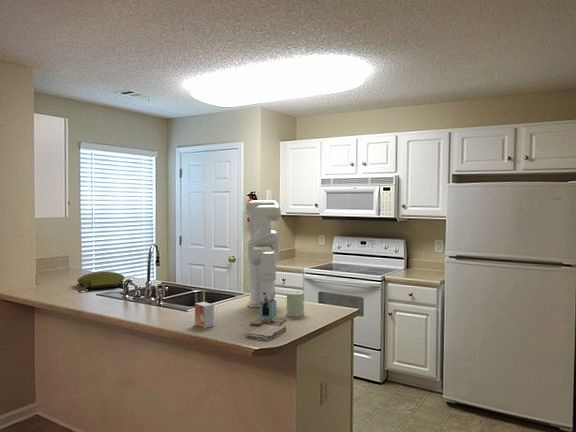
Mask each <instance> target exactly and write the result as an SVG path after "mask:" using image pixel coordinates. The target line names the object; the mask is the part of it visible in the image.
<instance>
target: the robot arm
mask: <svg viewBox="0 0 576 432" xmlns="http://www.w3.org/2000/svg"><path fill="white" fill-rule="evenodd" d="M245 206H246V207H245V209H246V214H247V215H246V216H247V217H248V220H249V223H250V225H249V226H250V238H249V241H248V244H247V259H248V267H249V299H250V301H249V302H247V307H249V308H260V302H261V303H262V315H263V316H269V307H268V305H269V301H271V300H275V298H276V284H275V283H276V282H275V281H276V279H277V276H276V275H277V274H276V273H277V271H276V269H277V268H276V267H277V266H278V265H279V262H280V239H279V233H278V232H277V231H276V230H272V224H271V222H279V221H280V220H281V218H282V211H281V207H280V205H279V203H278V202H277V201H276V200H274V199H273V200H269V199H268V200H265V199H264V200H262V199H261V200H258V199H257V200H256V199H255V200H249V201H248V202H247V203H246V205H245ZM254 248H270V249H254ZM265 300H267V301H265ZM265 302H267V304H266V303H265Z"/></svg>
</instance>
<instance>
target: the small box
mask: <svg viewBox="0 0 576 432" xmlns="http://www.w3.org/2000/svg"><path fill="white" fill-rule="evenodd" d="M214 305H215V304H213V303H209V302H207V301H201V302H196V303H194V325H195V326H197V327H201V328H203V329H206V328H211V327H214V325H215V324H214V323H215V321H214V319H215V314H214V313H215V312H214V311H215V306H214Z"/></svg>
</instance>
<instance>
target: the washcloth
mask: <svg viewBox="0 0 576 432" xmlns="http://www.w3.org/2000/svg"><path fill="white" fill-rule="evenodd" d="M286 331H287V327H286V326H282V325H280V326H273V325H266V324H264V325H262V326H256V328H254V329H252V330H250V331H247V332H246V333H245V335H246V337H245V338H247V339H251V340H256V339H259V341H262V340H265V342H267V341H270V340H272V339H271V338H273V339H274V337H275V336H276V337H278V336H280V335H281V334H283V333H285V332H286ZM280 333H281V334H280ZM279 334H280V335H279ZM277 335H278V336H277ZM276 337H275V338H276ZM269 339H270V340H269Z"/></svg>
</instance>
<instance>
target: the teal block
mask: <svg viewBox="0 0 576 432" xmlns="http://www.w3.org/2000/svg"><path fill="white" fill-rule="evenodd" d="M265 301H267V300H265ZM265 303H266V304H267V302H265ZM268 307H269V316H263V315H262V303H261V302H260V307H259V317H260V318H266V319H273V318H276V316H277V300H276V299H274V300H271V301H269V305H268Z"/></svg>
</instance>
